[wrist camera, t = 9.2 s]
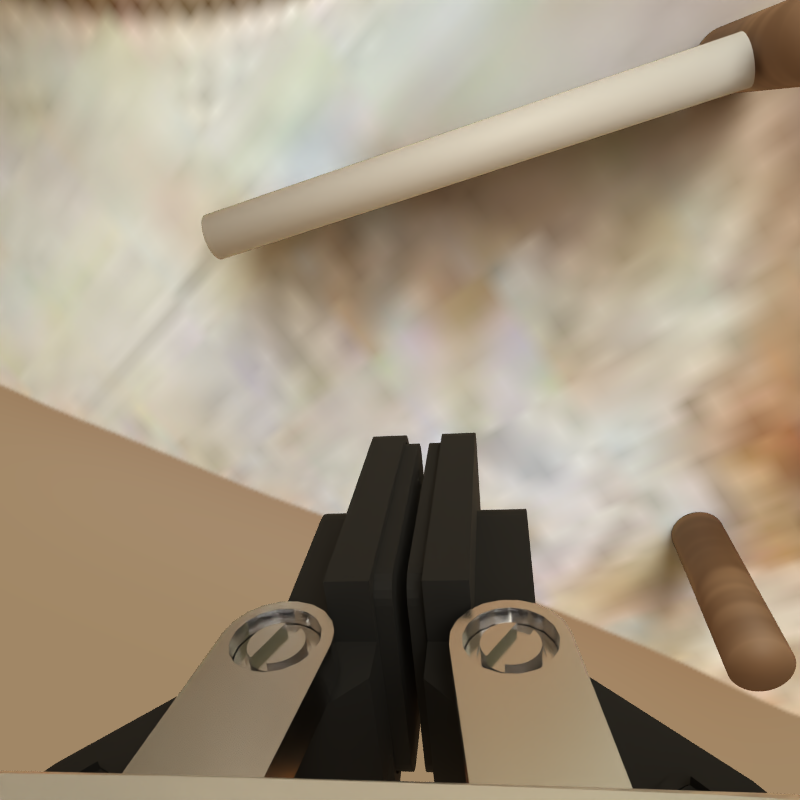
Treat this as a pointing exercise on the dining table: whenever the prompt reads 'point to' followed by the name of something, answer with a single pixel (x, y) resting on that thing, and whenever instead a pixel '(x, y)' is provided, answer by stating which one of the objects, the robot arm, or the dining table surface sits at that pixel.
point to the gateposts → (701, 532)
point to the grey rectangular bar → (487, 145)
